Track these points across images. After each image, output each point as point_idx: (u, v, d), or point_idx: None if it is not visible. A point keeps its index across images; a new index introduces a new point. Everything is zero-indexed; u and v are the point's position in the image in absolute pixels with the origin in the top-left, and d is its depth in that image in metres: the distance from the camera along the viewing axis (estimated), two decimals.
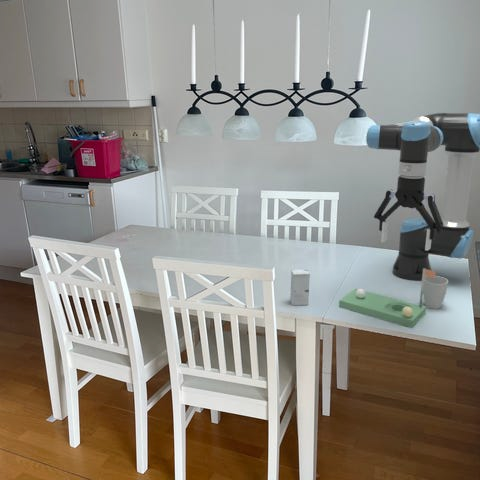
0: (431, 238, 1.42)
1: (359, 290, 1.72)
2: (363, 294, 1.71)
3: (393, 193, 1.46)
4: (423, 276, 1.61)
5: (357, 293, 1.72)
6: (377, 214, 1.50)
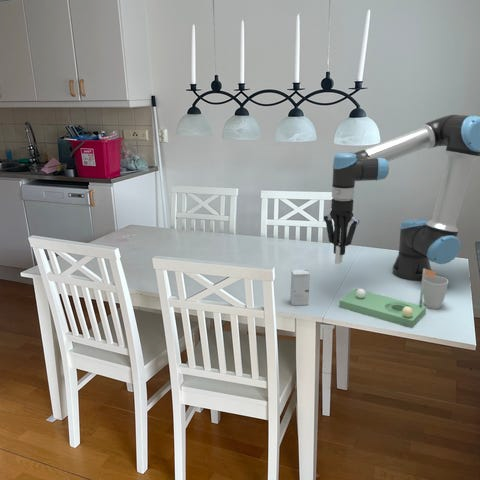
0: (341, 254, 1.72)
1: (359, 290, 1.72)
2: (363, 294, 1.71)
3: (329, 215, 1.72)
4: (423, 276, 1.61)
5: (357, 293, 1.72)
6: (330, 238, 1.73)
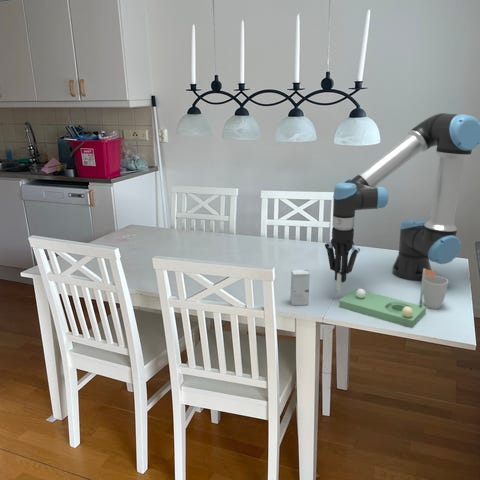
0: (342, 281, 1.75)
1: (359, 290, 1.72)
2: (363, 294, 1.71)
3: (330, 243, 1.75)
4: (423, 276, 1.61)
5: (357, 293, 1.72)
6: (331, 266, 1.76)
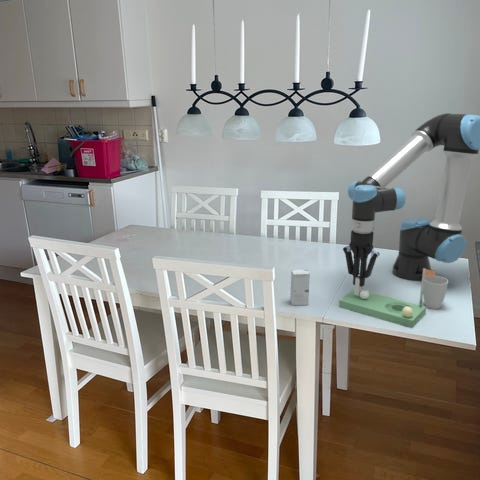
0: (361, 285, 1.71)
1: (365, 292, 1.70)
2: (366, 298, 1.71)
3: (348, 247, 1.71)
4: (423, 276, 1.61)
5: (362, 293, 1.70)
6: (349, 270, 1.72)
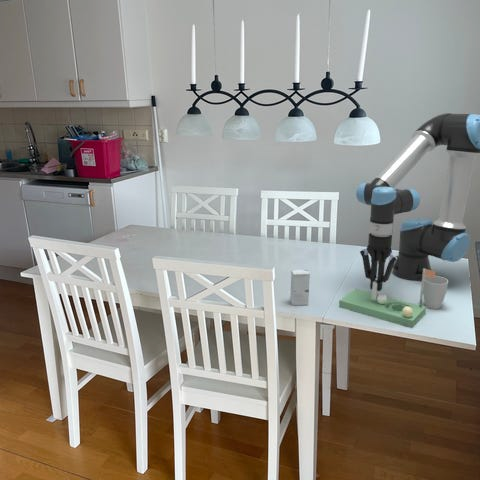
0: (378, 290, 1.67)
1: (378, 302, 1.68)
2: (378, 296, 1.67)
3: (366, 250, 1.67)
4: (423, 276, 1.61)
5: (380, 302, 1.67)
6: (366, 274, 1.68)
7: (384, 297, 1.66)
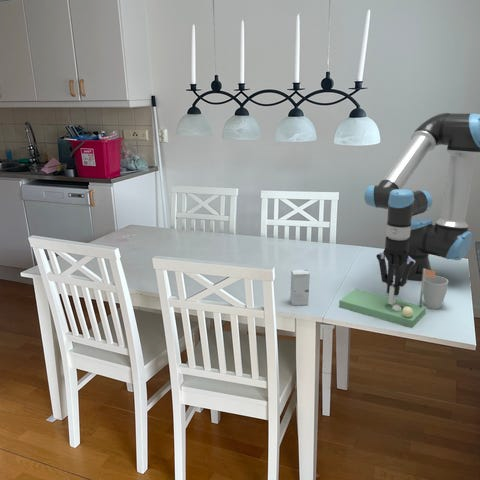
0: (395, 294, 1.63)
1: (399, 309, 1.64)
2: None
3: (382, 254, 1.63)
4: (423, 276, 1.61)
5: (395, 309, 1.64)
6: (383, 278, 1.64)
7: None
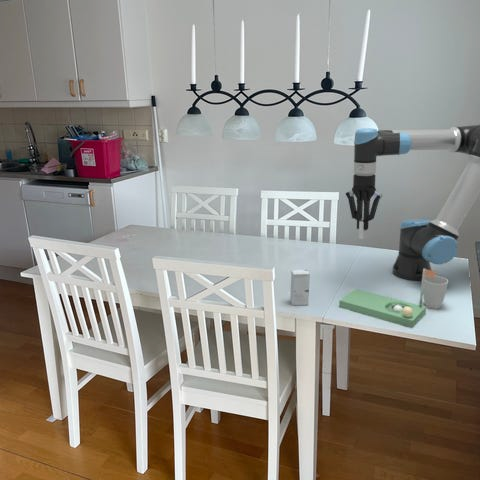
0: (365, 229, 1.75)
1: None
2: None
3: (351, 191, 1.74)
4: (423, 276, 1.61)
5: (397, 310, 1.63)
6: (353, 214, 1.75)
7: (393, 309, 1.65)
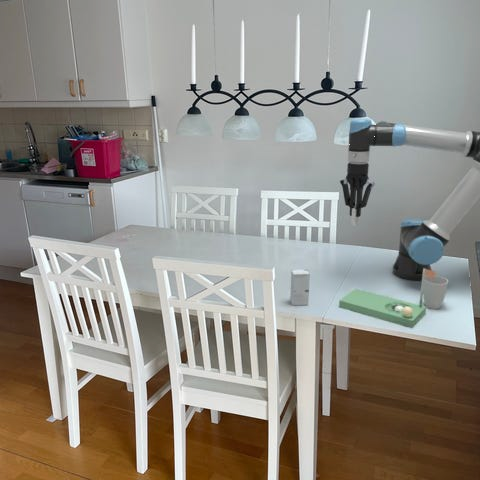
0: (357, 216, 1.82)
1: None
2: None
3: (345, 179, 1.81)
4: (423, 276, 1.61)
5: None
6: (346, 201, 1.82)
7: (394, 309, 1.65)
